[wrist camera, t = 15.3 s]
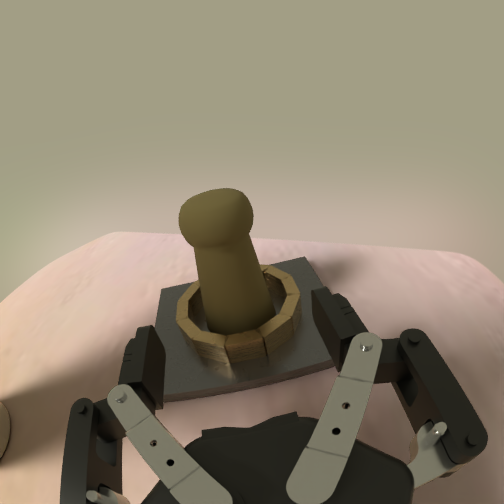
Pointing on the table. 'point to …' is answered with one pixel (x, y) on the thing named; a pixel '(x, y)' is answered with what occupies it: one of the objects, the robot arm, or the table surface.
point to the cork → (226, 261)
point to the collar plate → (241, 338)
